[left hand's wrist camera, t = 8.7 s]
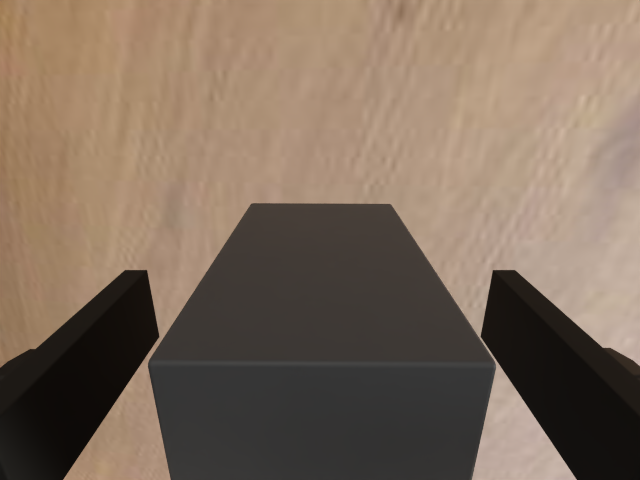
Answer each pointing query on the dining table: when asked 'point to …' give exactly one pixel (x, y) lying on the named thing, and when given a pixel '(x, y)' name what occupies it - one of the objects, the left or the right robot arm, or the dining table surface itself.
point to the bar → (321, 356)
